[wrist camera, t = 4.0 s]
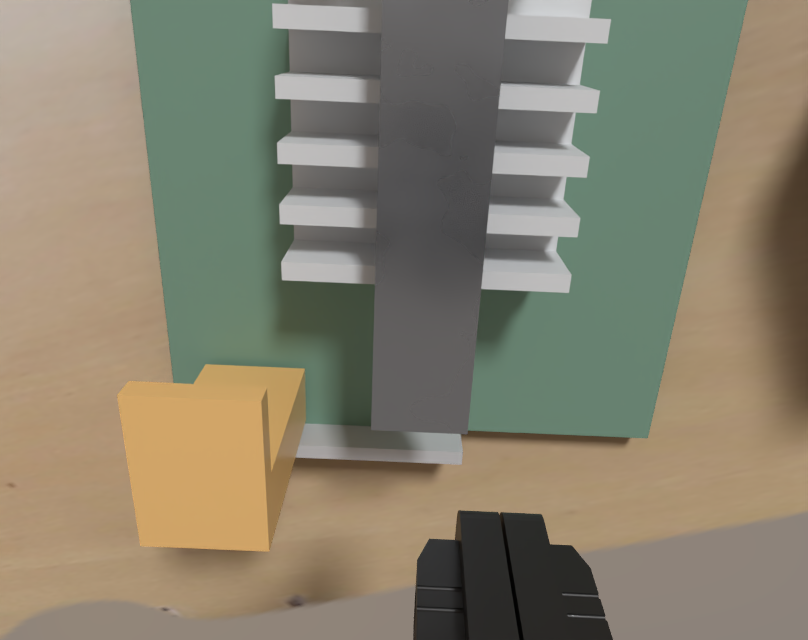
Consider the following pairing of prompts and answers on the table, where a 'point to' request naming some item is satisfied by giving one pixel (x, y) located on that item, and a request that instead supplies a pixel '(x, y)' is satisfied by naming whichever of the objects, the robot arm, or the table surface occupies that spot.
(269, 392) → the clip
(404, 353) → the strap
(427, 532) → the table surface
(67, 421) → the table surface
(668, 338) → the slotted rack on board
